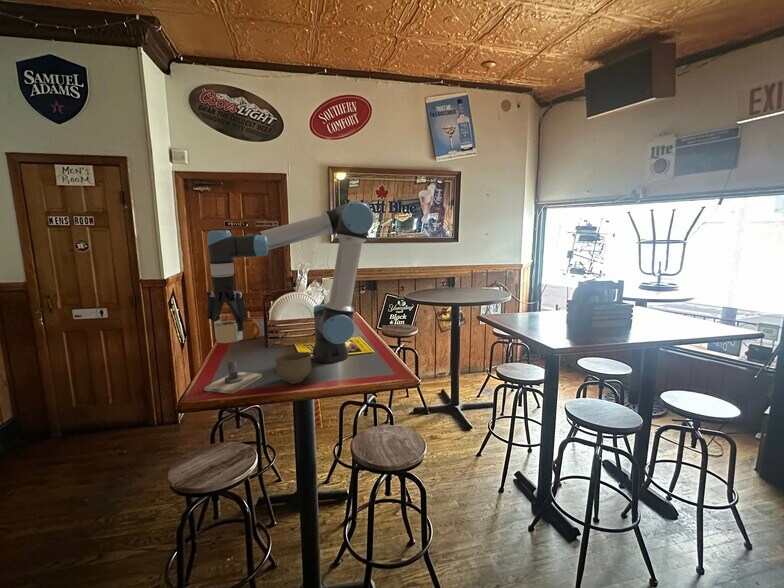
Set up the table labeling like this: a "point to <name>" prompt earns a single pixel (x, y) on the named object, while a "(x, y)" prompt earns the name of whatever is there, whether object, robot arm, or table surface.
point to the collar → (225, 332)
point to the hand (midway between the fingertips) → (229, 339)
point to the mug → (250, 329)
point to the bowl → (293, 366)
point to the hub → (232, 380)
